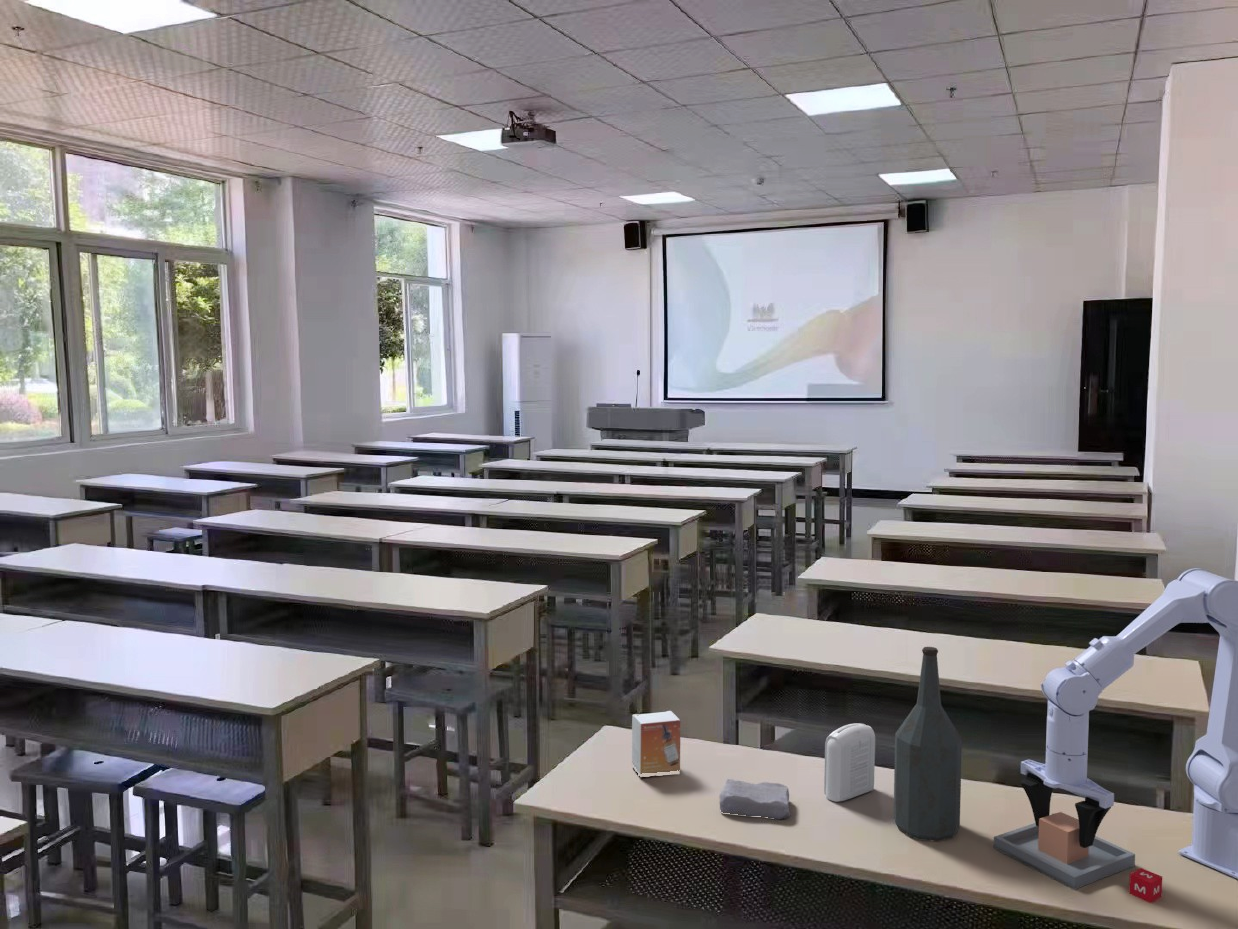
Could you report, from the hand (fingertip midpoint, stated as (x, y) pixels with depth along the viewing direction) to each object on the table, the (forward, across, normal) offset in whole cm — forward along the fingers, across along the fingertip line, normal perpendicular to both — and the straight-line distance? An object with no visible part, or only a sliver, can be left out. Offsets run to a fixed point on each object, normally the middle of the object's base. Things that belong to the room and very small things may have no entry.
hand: (1063, 835), depth 145 cm
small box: (+4, -58, -38) cm, 69 cm away
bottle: (+4, -17, -11) cm, 21 cm away
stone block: (+4, -37, -30) cm, 48 cm away
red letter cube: (+4, +13, 0) cm, 13 cm away
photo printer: (+4, -33, -13) cm, 36 cm away
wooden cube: (+3, 0, 0) cm, 3 cm away
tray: (+3, 0, 0) cm, 3 cm away
